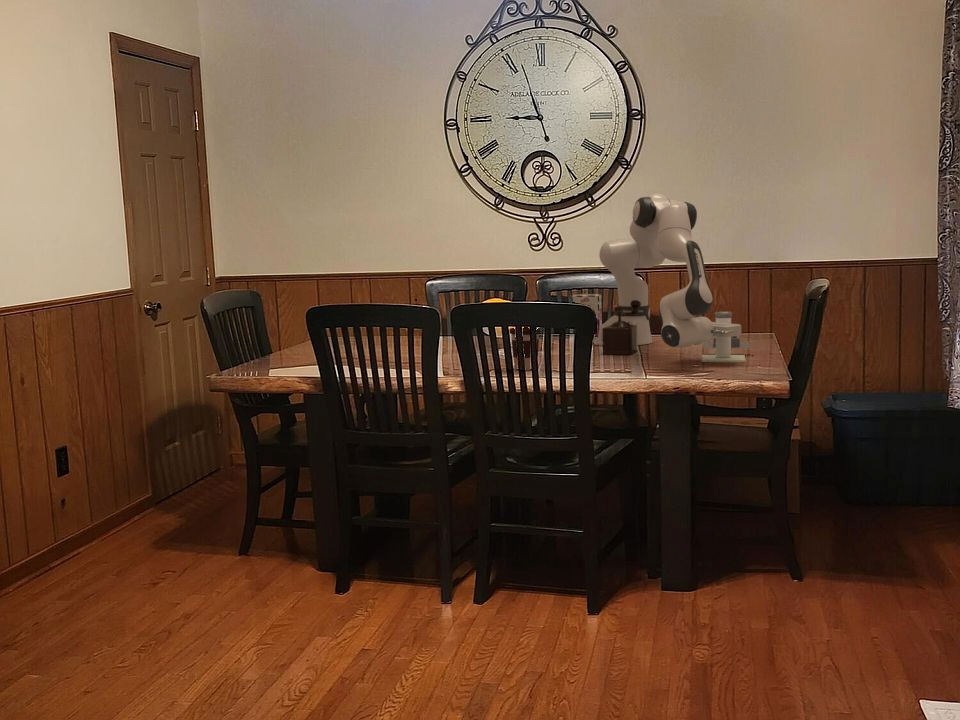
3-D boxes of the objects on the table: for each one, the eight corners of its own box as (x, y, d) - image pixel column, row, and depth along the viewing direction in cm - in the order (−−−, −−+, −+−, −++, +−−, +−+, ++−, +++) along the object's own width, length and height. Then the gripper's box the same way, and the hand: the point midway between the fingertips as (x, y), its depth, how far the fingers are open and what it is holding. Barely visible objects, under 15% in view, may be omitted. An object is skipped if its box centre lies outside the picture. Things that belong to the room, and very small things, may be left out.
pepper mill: (632, 355, 364) (632, 304, 361) (602, 354, 368) (601, 303, 366) (642, 349, 378) (642, 299, 376) (613, 348, 383) (612, 299, 380)
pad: (701, 362, 346) (701, 360, 346) (702, 355, 359) (702, 353, 359) (745, 362, 343) (745, 360, 343) (744, 355, 356) (744, 353, 356)
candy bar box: (602, 334, 418) (602, 294, 416) (599, 336, 414) (599, 295, 411) (575, 334, 422) (574, 293, 419) (572, 336, 417) (571, 295, 415)
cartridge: (713, 357, 350) (713, 313, 348) (717, 355, 355) (717, 311, 352) (729, 358, 347) (729, 313, 345) (733, 356, 352) (733, 311, 350)
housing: (703, 351, 369) (703, 339, 368) (704, 344, 384) (704, 333, 384) (750, 351, 365) (750, 339, 365) (749, 344, 381) (749, 333, 380)
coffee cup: (509, 367, 348) (508, 322, 345) (539, 365, 348) (538, 321, 346) (512, 372, 338) (511, 325, 336) (542, 370, 339) (541, 324, 336)
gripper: (727, 323, 333) (751, 318, 342) (675, 318, 348) (700, 314, 357) (726, 342, 334) (751, 337, 343) (675, 337, 349) (700, 333, 358)
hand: (725, 326), depth 350 cm, fingers open, 8 cm apart
